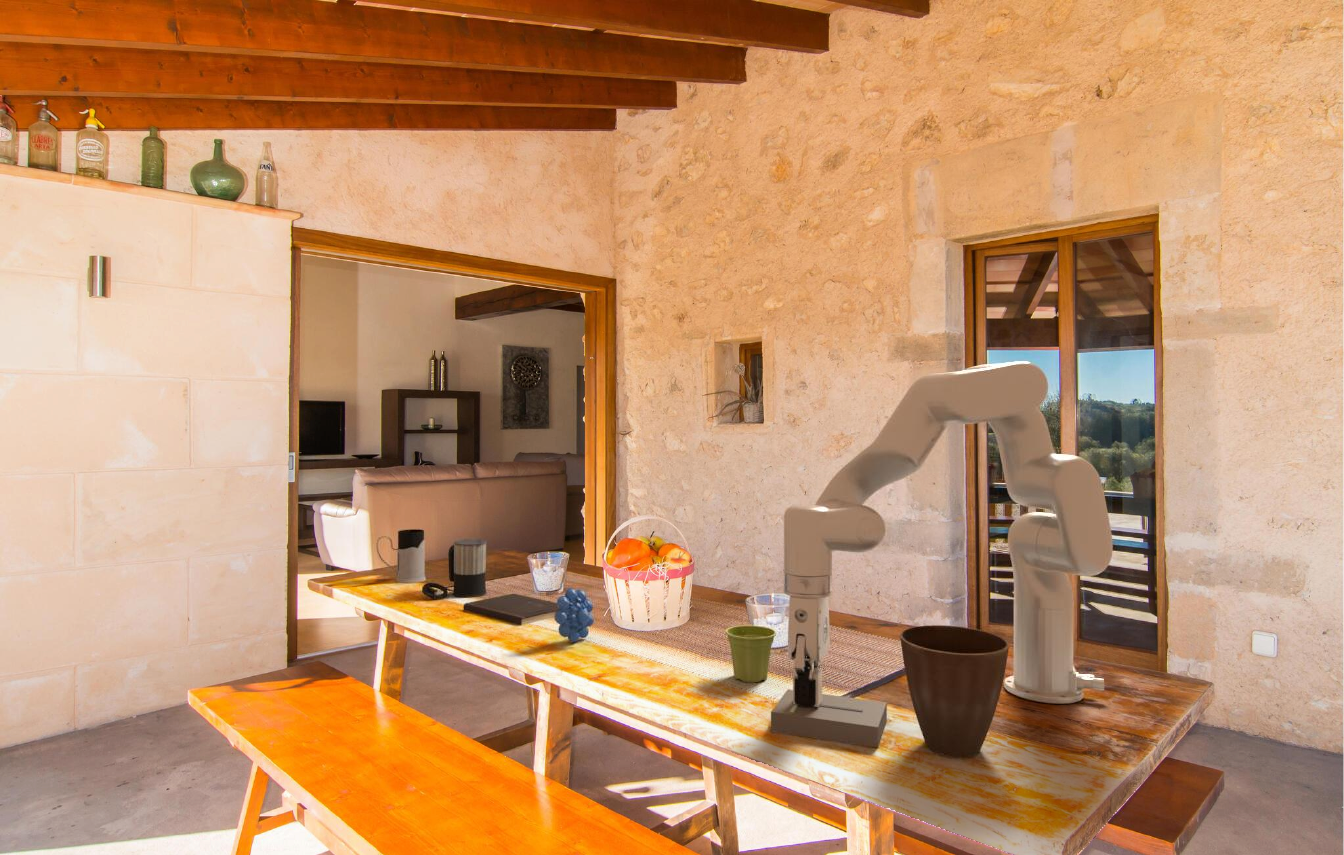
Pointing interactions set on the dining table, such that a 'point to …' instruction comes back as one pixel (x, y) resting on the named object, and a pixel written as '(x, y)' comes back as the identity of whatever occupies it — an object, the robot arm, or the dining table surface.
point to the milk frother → (463, 570)
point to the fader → (818, 686)
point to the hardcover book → (513, 608)
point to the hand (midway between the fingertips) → (807, 699)
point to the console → (832, 719)
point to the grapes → (574, 614)
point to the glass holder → (409, 556)
